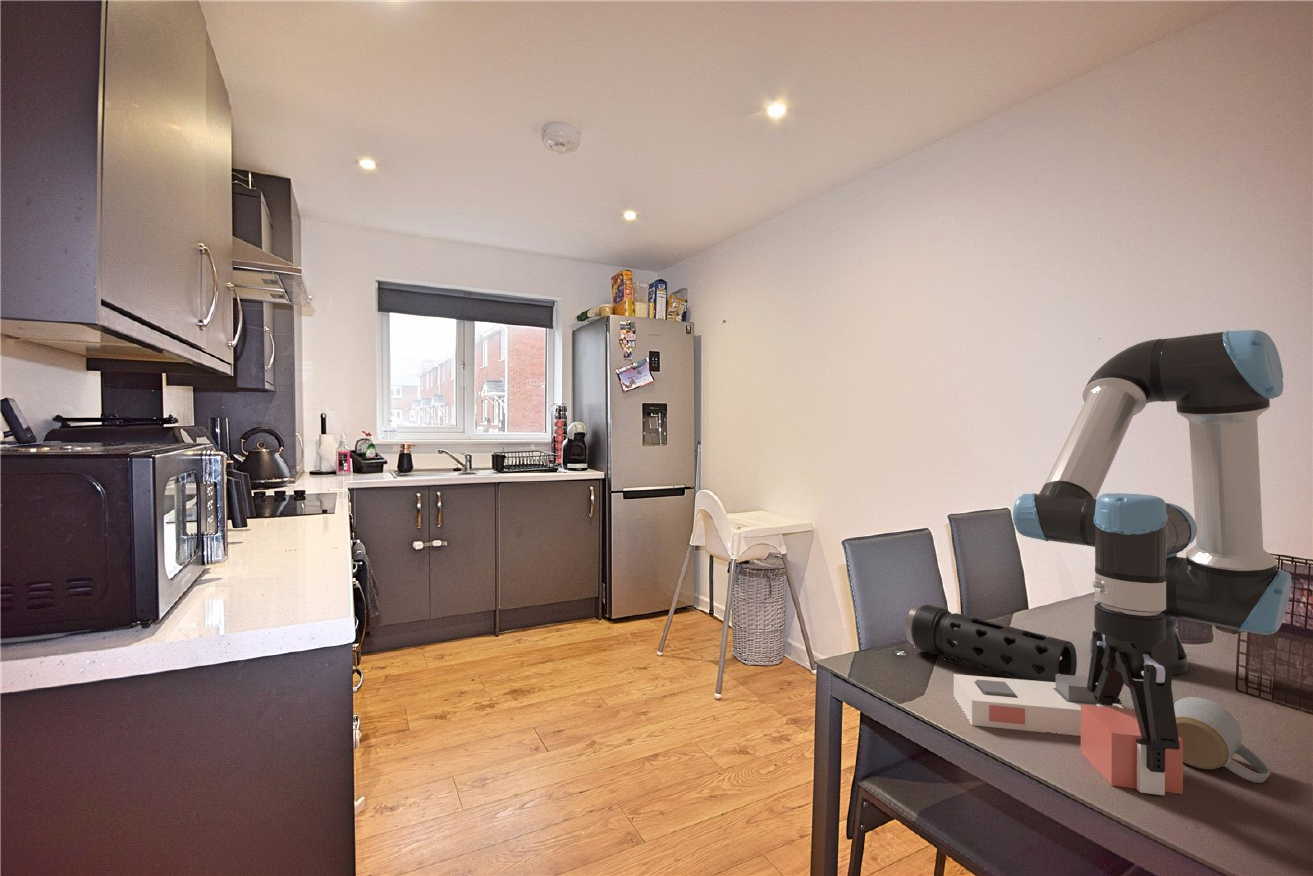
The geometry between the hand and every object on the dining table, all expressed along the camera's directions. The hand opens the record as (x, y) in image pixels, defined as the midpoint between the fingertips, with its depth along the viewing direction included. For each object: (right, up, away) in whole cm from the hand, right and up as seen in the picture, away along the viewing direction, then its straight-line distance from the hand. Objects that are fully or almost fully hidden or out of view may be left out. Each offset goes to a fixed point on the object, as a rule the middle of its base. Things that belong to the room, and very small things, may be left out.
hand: (1128, 770), depth 78 cm
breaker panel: (-3, 0, +15) cm, 15 cm away
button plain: (+3, +2, +14) cm, 14 cm away
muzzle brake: (-1, 0, +33) cm, 33 cm away
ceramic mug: (+14, 0, +2) cm, 14 cm away
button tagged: (-9, 0, +16) cm, 18 cm away
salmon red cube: (0, 0, 0) cm, 0 cm away
